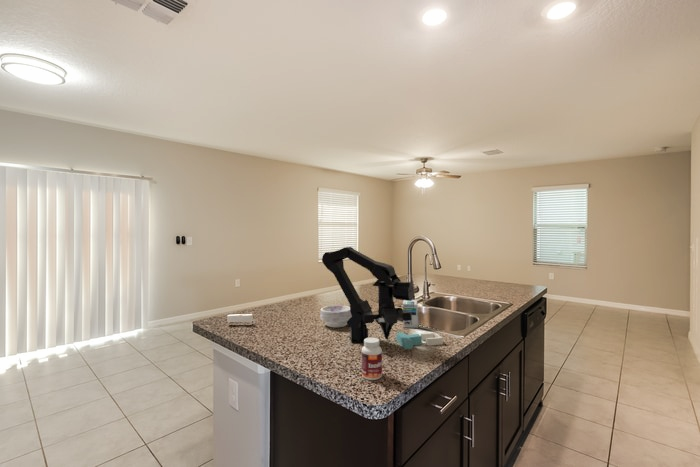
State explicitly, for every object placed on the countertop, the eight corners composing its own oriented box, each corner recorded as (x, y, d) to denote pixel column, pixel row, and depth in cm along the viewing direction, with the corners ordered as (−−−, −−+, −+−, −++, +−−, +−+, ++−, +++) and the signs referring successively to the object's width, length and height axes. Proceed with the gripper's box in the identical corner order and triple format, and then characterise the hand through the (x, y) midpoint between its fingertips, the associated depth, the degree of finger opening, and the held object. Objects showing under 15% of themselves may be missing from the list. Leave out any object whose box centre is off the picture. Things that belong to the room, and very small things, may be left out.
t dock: (427, 345, 121) (427, 339, 121) (420, 339, 128) (420, 333, 128) (442, 344, 122) (442, 337, 122) (435, 338, 129) (435, 332, 129)
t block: (404, 349, 118) (404, 341, 118) (396, 340, 128) (396, 332, 128) (425, 347, 119) (424, 339, 119) (415, 338, 129) (415, 331, 129)
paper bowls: (342, 318, 161) (342, 303, 161) (359, 326, 148) (358, 309, 148) (315, 323, 153) (315, 307, 153) (329, 332, 140) (329, 314, 140)
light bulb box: (418, 328, 143) (417, 304, 143) (403, 327, 144) (402, 304, 144) (418, 321, 153) (417, 299, 153) (403, 321, 155) (403, 299, 155)
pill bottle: (368, 382, 92) (368, 345, 92) (357, 374, 98) (357, 338, 98) (386, 377, 95) (385, 341, 95) (374, 370, 101) (374, 335, 101)
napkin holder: (220, 327, 151) (219, 315, 151) (239, 321, 161) (238, 310, 161) (242, 331, 143) (242, 319, 143) (260, 325, 153) (260, 313, 153)
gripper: (366, 304, 113) (367, 348, 113) (416, 301, 116) (417, 344, 116) (360, 297, 124) (360, 337, 124) (406, 295, 127) (406, 334, 127)
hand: (386, 338), depth 122 cm, fingers closed
